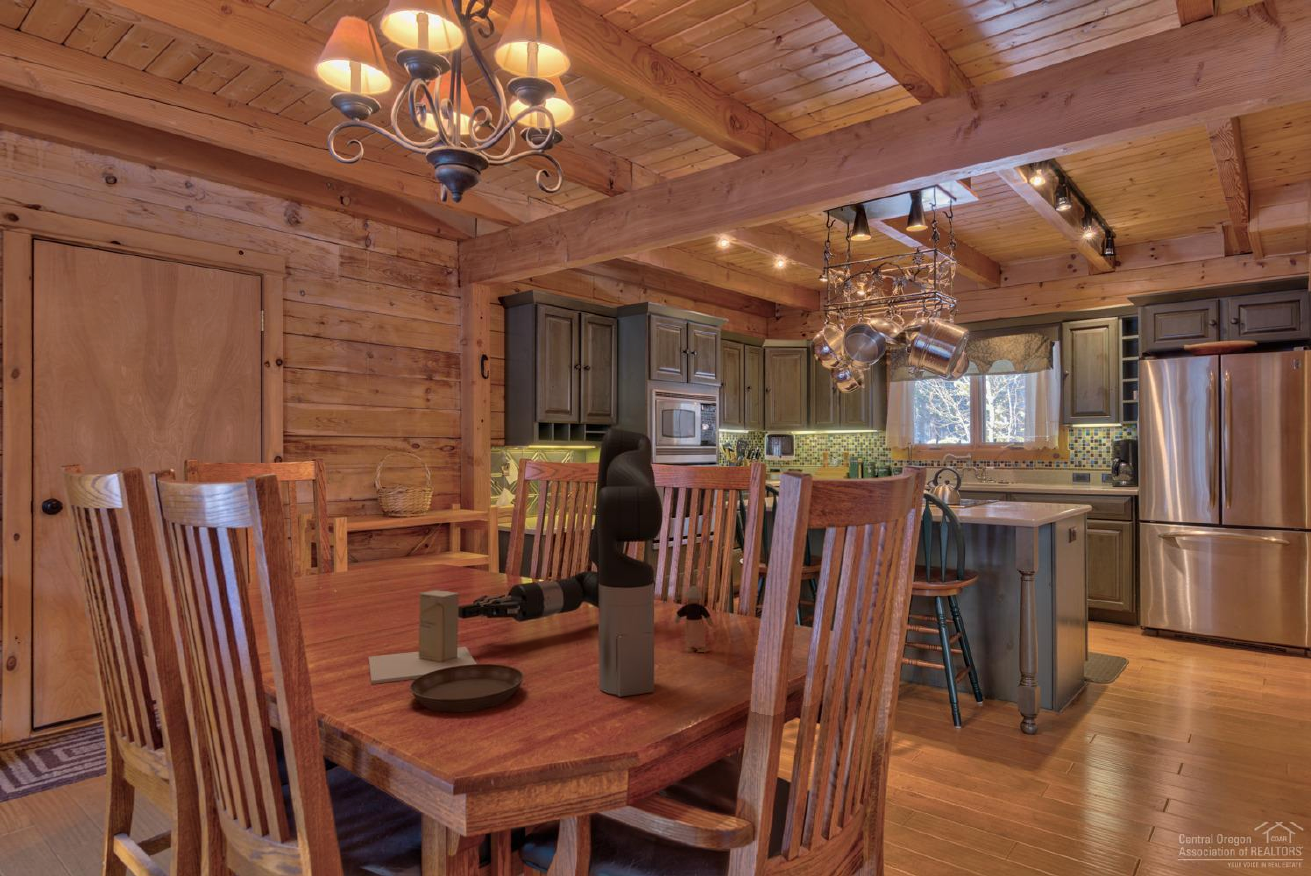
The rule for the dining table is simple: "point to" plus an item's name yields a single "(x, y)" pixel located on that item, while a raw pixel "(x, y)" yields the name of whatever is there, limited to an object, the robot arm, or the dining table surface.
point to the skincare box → (438, 625)
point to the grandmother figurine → (694, 620)
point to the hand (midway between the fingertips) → (459, 612)
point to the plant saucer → (466, 687)
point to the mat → (411, 665)
